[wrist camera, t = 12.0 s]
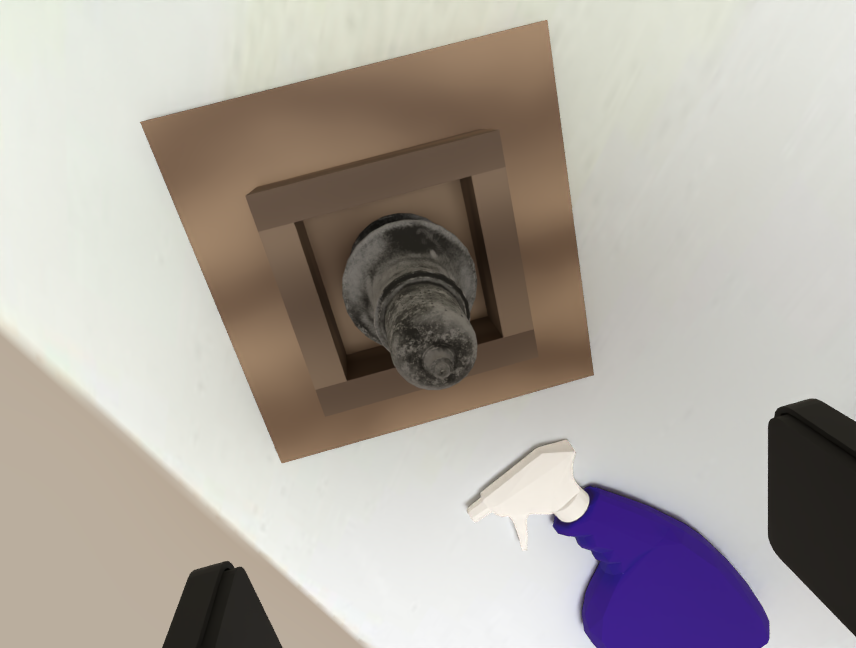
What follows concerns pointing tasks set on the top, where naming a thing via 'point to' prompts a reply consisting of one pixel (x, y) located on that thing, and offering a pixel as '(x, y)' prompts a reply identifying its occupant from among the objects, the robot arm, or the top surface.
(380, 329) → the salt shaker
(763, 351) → the top surface
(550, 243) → the walnut holder
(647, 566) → the spray bottle
